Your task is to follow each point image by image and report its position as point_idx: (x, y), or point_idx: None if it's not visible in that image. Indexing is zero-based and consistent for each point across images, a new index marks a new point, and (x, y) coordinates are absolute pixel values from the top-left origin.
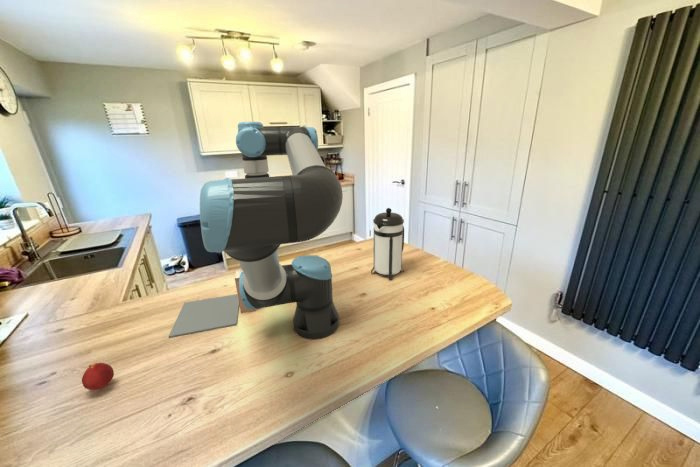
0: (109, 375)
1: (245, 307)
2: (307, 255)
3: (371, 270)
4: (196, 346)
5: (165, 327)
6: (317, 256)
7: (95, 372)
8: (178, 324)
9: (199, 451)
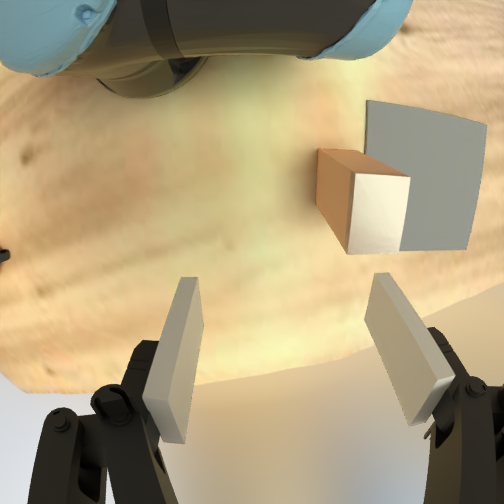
0: None
1: (348, 152)
2: (36, 42)
3: (5, 259)
4: (438, 64)
5: (491, 167)
6: (4, 46)
7: None
8: (477, 161)
9: None
